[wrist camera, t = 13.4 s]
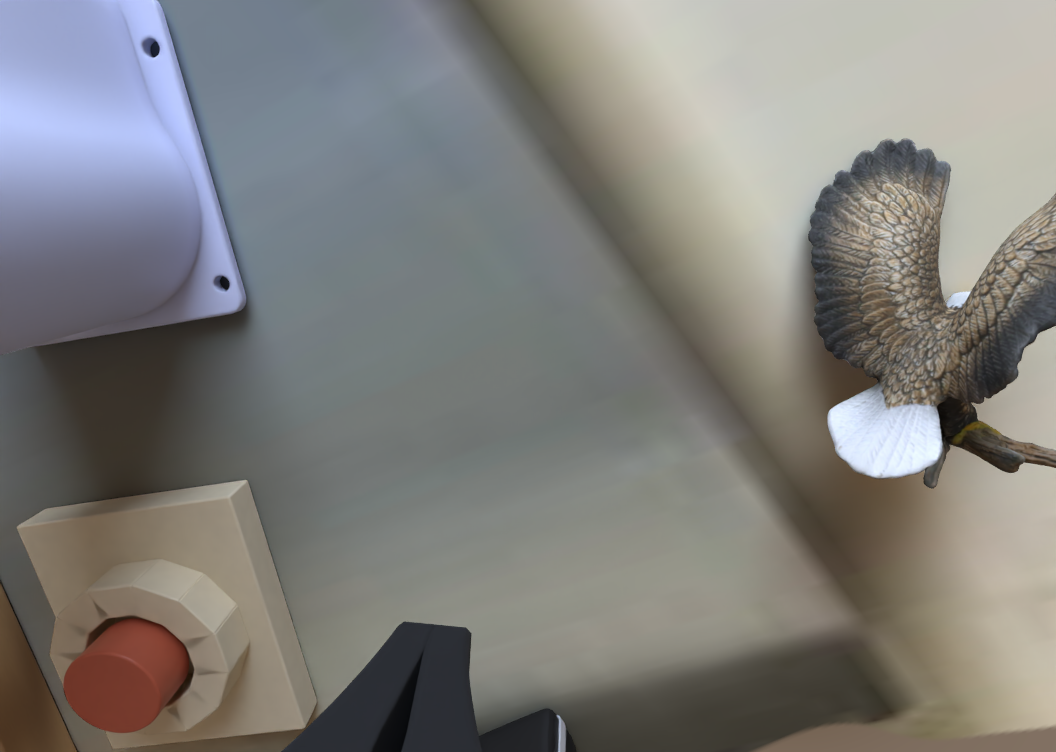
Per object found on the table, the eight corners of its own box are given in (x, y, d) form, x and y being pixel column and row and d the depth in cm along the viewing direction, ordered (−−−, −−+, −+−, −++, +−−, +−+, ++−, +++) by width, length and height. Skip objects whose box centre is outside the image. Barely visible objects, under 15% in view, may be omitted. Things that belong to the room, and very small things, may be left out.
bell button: (86, 622, 22) (47, 659, 20) (173, 612, 21) (141, 647, 20) (117, 698, 22) (82, 739, 21) (202, 688, 22) (173, 729, 20)
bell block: (45, 507, 23) (-26, 551, 20) (248, 478, 23) (204, 519, 20) (134, 722, 26) (82, 787, 23) (318, 701, 25) (288, 766, 22)
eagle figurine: (1090, 405, 20) (1161, 96, 16) (1119, 558, 15) (1234, 161, 11) (825, 380, 24) (828, 133, 20) (776, 492, 19) (769, 191, 15)
